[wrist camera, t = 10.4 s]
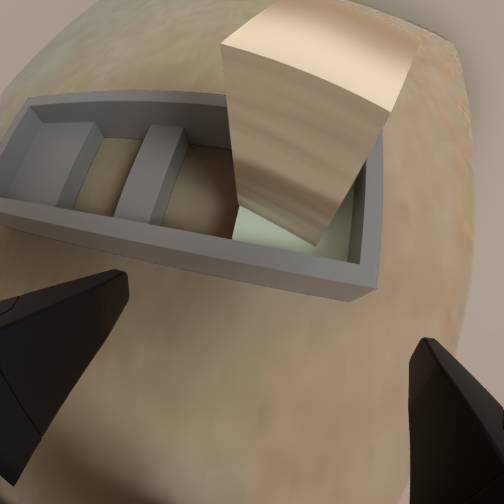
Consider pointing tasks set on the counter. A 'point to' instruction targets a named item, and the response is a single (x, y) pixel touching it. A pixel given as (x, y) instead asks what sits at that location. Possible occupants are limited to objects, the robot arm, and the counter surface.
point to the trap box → (160, 188)
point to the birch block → (309, 106)
